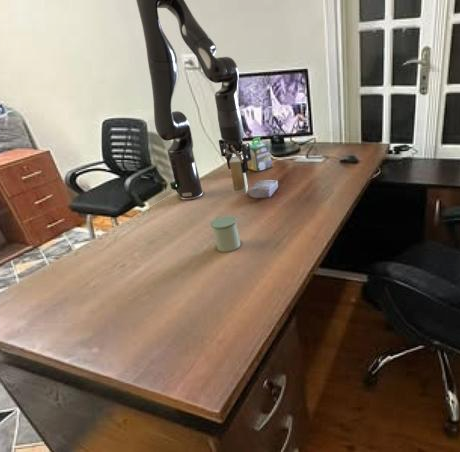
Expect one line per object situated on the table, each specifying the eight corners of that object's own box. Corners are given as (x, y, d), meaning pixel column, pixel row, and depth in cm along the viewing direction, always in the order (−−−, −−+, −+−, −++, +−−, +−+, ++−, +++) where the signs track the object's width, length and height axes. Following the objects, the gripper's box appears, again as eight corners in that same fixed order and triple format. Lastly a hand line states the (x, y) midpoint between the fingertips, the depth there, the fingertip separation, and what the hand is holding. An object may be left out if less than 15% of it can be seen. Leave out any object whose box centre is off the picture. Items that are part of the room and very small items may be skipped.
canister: (211, 247, 106) (205, 223, 102) (230, 237, 111) (225, 213, 107) (226, 254, 102) (221, 229, 98) (246, 243, 107) (241, 219, 103)
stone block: (248, 202, 139) (271, 197, 136) (244, 190, 137) (267, 186, 134) (259, 191, 149) (280, 187, 146) (255, 180, 147) (277, 176, 144)
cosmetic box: (236, 188, 131) (231, 156, 125) (248, 187, 132) (243, 155, 126) (234, 194, 126) (228, 162, 120) (246, 193, 126) (241, 161, 120)
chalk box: (261, 163, 176) (257, 134, 170) (272, 166, 171) (268, 136, 164) (246, 168, 171) (241, 138, 164) (257, 172, 165) (253, 141, 158)
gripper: (253, 123, 115) (259, 170, 123) (226, 119, 123) (233, 164, 131) (235, 128, 110) (243, 177, 118) (208, 123, 118) (217, 170, 126)
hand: (238, 170), depth 125 cm, fingers closed on cosmetic box, 7 cm apart
